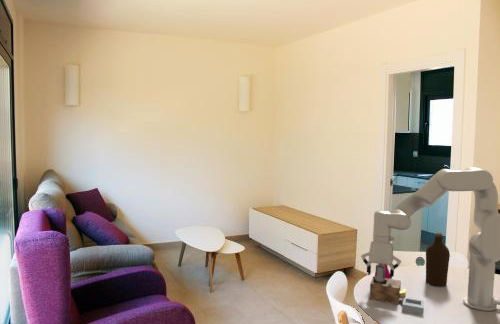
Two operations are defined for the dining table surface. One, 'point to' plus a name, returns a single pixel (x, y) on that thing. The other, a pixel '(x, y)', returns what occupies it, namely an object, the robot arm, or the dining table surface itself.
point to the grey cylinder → (380, 274)
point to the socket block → (385, 290)
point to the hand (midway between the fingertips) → (380, 275)
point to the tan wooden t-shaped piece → (402, 294)
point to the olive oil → (437, 262)
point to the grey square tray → (413, 305)
